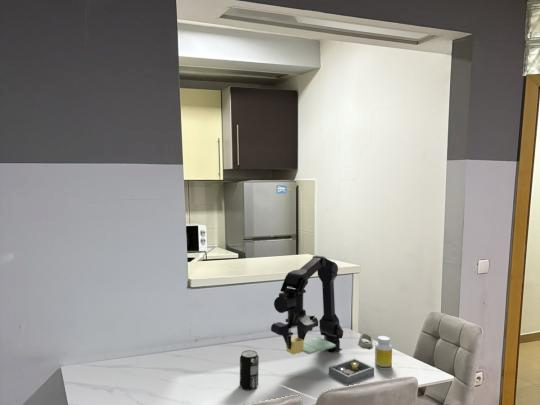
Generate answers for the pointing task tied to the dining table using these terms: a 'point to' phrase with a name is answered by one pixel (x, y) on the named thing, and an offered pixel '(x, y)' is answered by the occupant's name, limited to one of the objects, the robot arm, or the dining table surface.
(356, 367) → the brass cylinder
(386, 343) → the pill bottle
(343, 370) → the chrome dome knob
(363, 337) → the wristwatch
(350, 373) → the walnut block
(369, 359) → the dining table surface
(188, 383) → the dining table surface
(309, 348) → the grooved mint slab
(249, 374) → the beverage can
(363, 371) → the tub
